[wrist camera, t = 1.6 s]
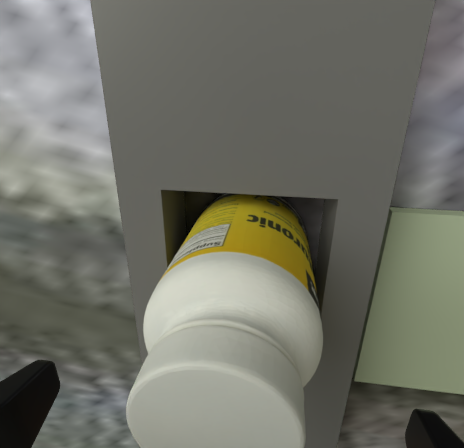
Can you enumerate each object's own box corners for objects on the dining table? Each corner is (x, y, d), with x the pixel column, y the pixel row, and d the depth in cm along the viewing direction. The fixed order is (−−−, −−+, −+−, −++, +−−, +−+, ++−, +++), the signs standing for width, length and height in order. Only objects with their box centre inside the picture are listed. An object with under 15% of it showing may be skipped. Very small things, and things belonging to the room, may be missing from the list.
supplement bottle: (328, 255, 16) (388, 484, 7) (236, 299, 17) (188, 524, 9) (269, 161, 14) (246, 296, 5) (175, 220, 16) (43, 392, 7)
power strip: (114, -150, 11) (36, -258, 7) (436, -178, 10) (522, -323, 6) (171, 416, 22) (151, 477, 19) (321, 437, 21) (328, 508, 17)
